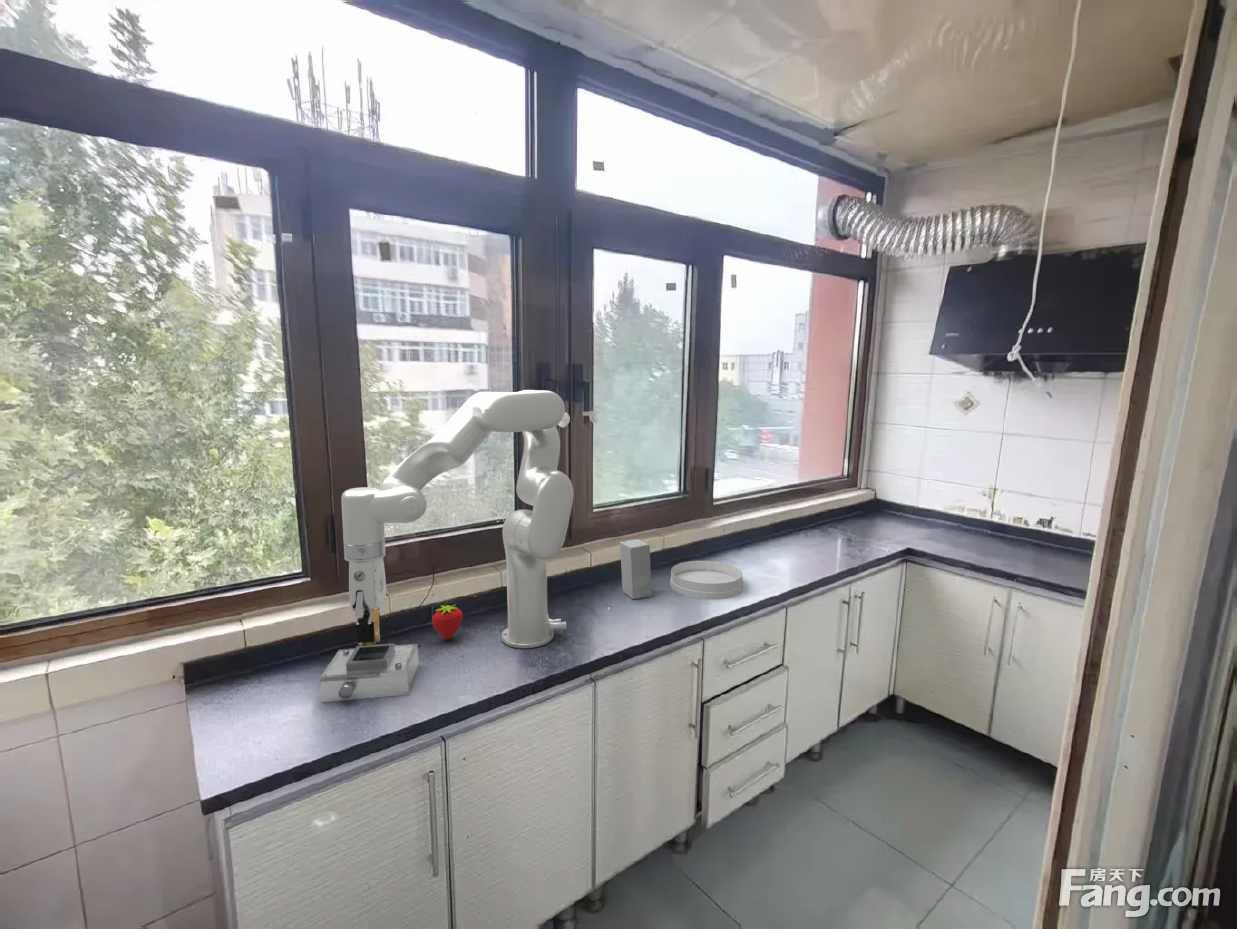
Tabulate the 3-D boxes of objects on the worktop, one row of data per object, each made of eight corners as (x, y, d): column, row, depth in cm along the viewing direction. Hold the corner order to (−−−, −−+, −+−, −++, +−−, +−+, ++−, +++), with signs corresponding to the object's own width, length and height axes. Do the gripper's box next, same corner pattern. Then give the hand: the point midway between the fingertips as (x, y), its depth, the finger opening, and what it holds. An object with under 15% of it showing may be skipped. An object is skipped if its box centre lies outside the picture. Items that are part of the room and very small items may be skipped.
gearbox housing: (418, 665, 123) (417, 637, 122) (406, 700, 109) (404, 669, 109) (340, 671, 120) (338, 643, 119) (318, 708, 107) (315, 676, 106)
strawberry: (468, 638, 136) (467, 599, 135) (439, 648, 131) (437, 607, 130) (457, 631, 140) (455, 593, 139) (428, 640, 135) (426, 600, 134)
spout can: (381, 636, 117) (379, 592, 115) (377, 645, 113) (375, 599, 112) (361, 638, 116) (359, 593, 115) (356, 646, 112) (353, 600, 111)
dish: (705, 570, 189) (705, 556, 188) (757, 589, 171) (758, 573, 171) (655, 584, 175) (655, 569, 174) (707, 606, 158) (708, 589, 157)
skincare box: (652, 597, 164) (653, 544, 161) (629, 600, 161) (630, 547, 159) (640, 587, 171) (641, 537, 169) (619, 590, 169) (619, 539, 166)
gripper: (374, 561, 104) (378, 654, 107) (393, 538, 121) (397, 619, 123) (331, 563, 103) (336, 657, 105) (356, 539, 119) (360, 621, 122)
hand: (369, 635), depth 114 cm, fingers closed on spout can, 4 cm apart
